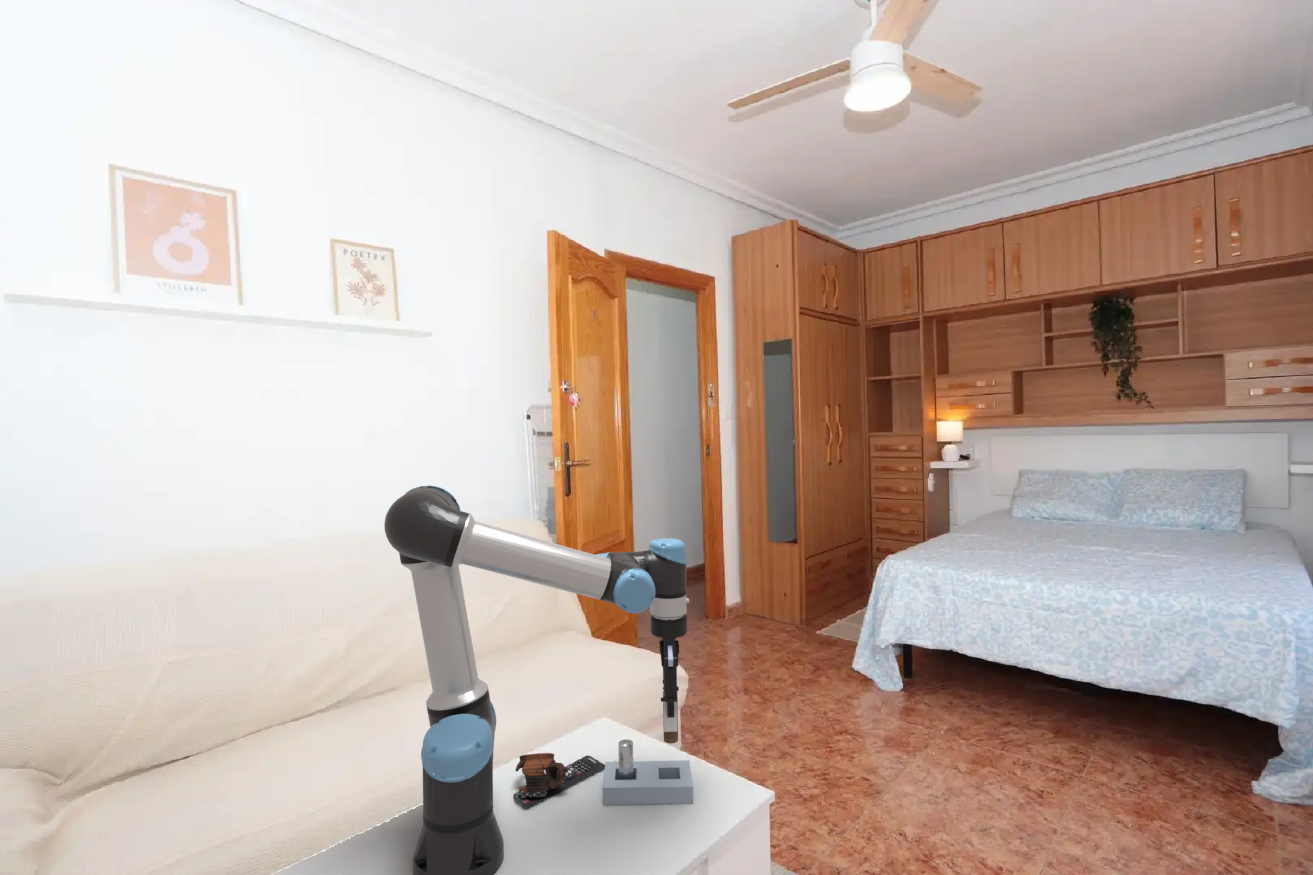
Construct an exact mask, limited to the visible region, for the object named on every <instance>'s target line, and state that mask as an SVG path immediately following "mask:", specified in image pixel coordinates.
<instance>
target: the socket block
mask: <svg viewBox="0 0 1313 875" xmlns="http://www.w3.org/2000/svg"><path fill="white" fill-rule="evenodd" d="M689 804H690V805H691V804H694V785H693V778H692V771H691V763H690V760H686V759H685V760H644V761H643V760H641V761H640V760H639V761H635V760H633V780H619V761H605V764H604V773H603V782H602V806H631V805H632V806H633V805H634V806H635V805H636V806H637V805H638V806H639V805H640V806H642V805H689Z"/></svg>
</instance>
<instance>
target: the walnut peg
mask: <svg viewBox="0 0 1313 875" xmlns="http://www.w3.org/2000/svg"><path fill="white" fill-rule="evenodd" d="M662 697H664V690H663V691H662ZM678 702H679V701H678V700H677V732H664V731H663V742H664V743H666V744H675V743H677V742H678V741H679V718H678V717H679V714H678V712H679V709H678ZM662 710H663V712H662V714H663V717H662V720H663V721H662V723H663V728H664V702H662Z"/></svg>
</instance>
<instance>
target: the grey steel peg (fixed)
mask: <svg viewBox="0 0 1313 875" xmlns="http://www.w3.org/2000/svg"><path fill="white" fill-rule="evenodd" d="M633 761H634V742H633V740H632V739H631V740H630V739H628V738H627V739H622V740H619V741H618V762H619V780H633Z"/></svg>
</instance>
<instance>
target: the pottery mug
mask: <svg viewBox="0 0 1313 875" xmlns="http://www.w3.org/2000/svg"><path fill="white" fill-rule="evenodd" d="M520 769H521V773H522V774H523V775H524V778H525V785H520V786H519V787H518V793H519V792H522V791H523V792H530V793H534V792H544V791H546V790H548V791H549V789H550V790H551V789H553V788H555V787H556V788H557V787H558V786H560V785H562V783H563V782H564V780H565V778H566V775H567V769H566V766H565V765H564V764H563V763H562V762H558V761H557V762H556V760H555V753H552V752H541V753H540V752H539V753H529V754H528V753H527V754H523V755H520V756H519V762H518V763H517V764H516V768H515V772H519V771H520ZM556 788H555V789H556Z"/></svg>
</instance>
